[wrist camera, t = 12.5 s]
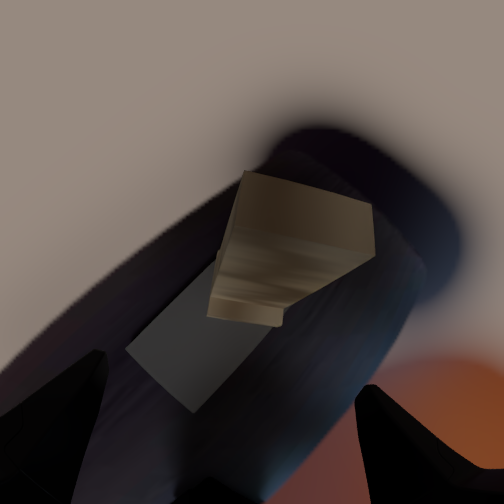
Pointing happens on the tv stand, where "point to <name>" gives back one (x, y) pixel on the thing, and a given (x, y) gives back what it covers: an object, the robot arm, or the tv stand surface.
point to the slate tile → (194, 345)
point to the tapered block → (285, 247)
